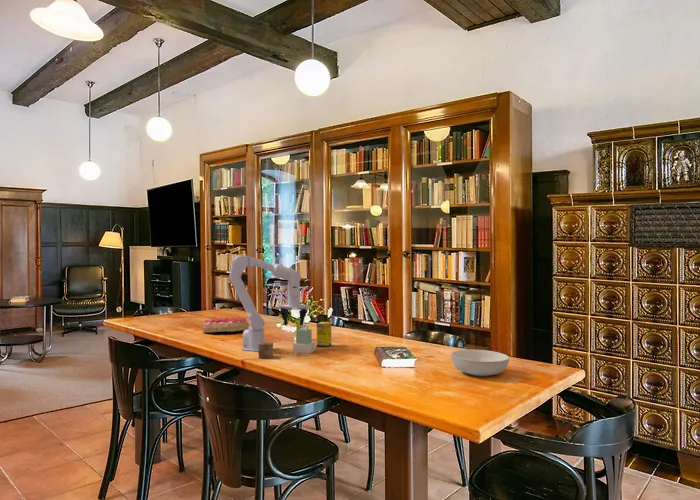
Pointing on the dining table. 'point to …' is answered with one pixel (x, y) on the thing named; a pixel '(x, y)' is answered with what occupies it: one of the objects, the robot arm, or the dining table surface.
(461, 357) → the serving bowl
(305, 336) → the green block
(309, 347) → the grey block
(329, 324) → the supplement box
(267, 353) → the walnut block
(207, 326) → the cake
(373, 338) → the dining table surface
